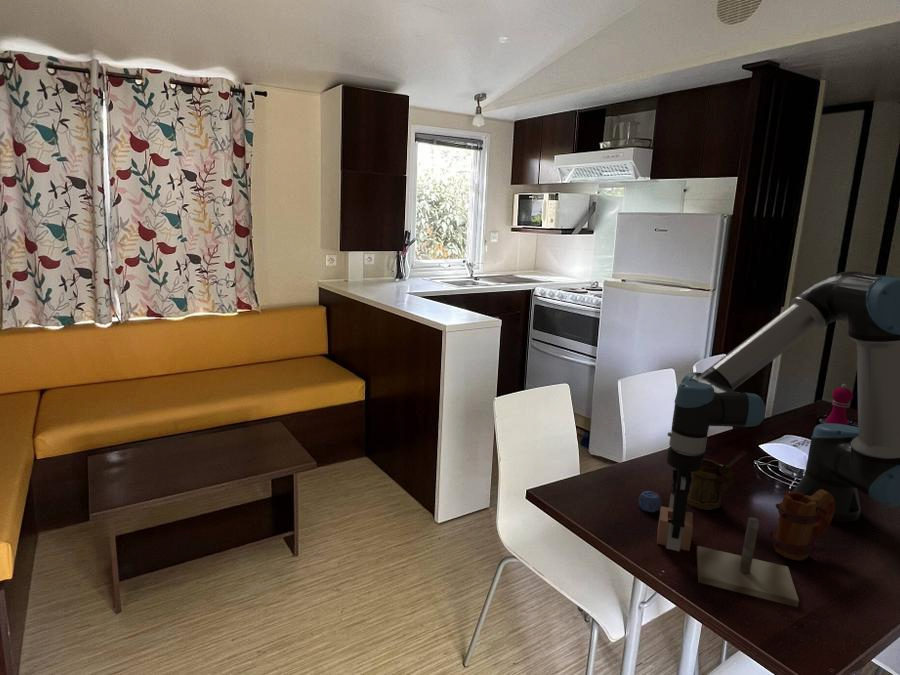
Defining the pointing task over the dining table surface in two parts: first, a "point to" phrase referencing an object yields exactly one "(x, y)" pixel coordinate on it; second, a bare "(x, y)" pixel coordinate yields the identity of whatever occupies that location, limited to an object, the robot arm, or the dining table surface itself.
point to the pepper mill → (840, 405)
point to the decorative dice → (649, 501)
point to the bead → (664, 526)
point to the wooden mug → (710, 483)
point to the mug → (801, 523)
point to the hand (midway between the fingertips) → (672, 534)
